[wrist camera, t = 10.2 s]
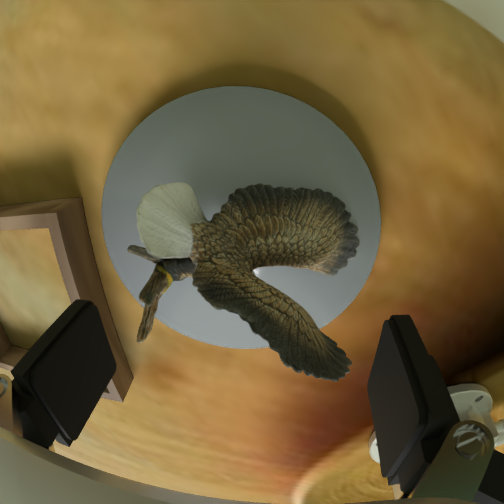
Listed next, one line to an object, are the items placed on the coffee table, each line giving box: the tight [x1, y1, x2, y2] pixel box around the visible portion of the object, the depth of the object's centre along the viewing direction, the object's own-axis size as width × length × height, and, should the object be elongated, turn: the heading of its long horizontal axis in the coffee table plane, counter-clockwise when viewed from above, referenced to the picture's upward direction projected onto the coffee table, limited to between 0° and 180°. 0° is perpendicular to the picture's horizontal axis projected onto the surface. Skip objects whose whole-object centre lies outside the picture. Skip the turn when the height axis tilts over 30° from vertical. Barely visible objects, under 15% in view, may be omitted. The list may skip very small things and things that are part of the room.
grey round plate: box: [102, 86, 381, 349], centre depth 16 cm, size 14×14×1 cm
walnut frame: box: [0, 197, 133, 402], centre depth 19 cm, size 15×14×2 cm
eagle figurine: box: [127, 182, 360, 382], centre depth 13 cm, size 8×7×9 cm
